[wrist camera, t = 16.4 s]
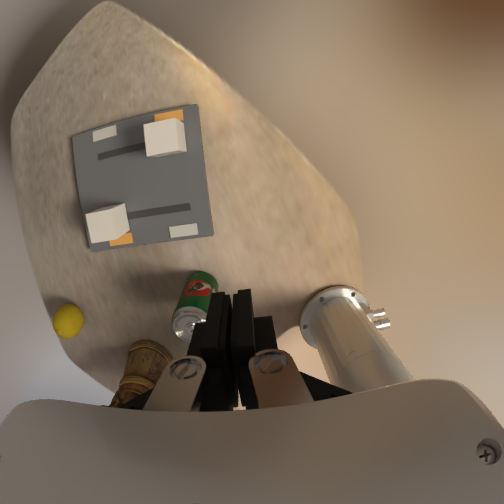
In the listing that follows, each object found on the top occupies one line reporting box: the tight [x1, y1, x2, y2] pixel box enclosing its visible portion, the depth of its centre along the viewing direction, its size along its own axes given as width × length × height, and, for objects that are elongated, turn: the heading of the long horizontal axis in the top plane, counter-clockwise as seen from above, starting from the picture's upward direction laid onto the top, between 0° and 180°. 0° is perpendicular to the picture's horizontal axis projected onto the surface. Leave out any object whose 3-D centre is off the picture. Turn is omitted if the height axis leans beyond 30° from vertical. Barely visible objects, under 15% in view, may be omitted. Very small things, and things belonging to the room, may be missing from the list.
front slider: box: [144, 118, 187, 157], centre depth 32 cm, size 4×4×5 cm
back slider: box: [85, 203, 130, 243], centre depth 34 cm, size 4×4×5 cm
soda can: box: [172, 272, 219, 342], centre depth 37 cm, size 5×5×12 cm
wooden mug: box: [102, 340, 173, 408], centre depth 39 cm, size 9×14×18 cm, turn 115°
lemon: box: [53, 304, 84, 339], centre depth 40 cm, size 6×6×8 cm
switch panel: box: [72, 104, 214, 252], centre depth 36 cm, size 20×18×2 cm
